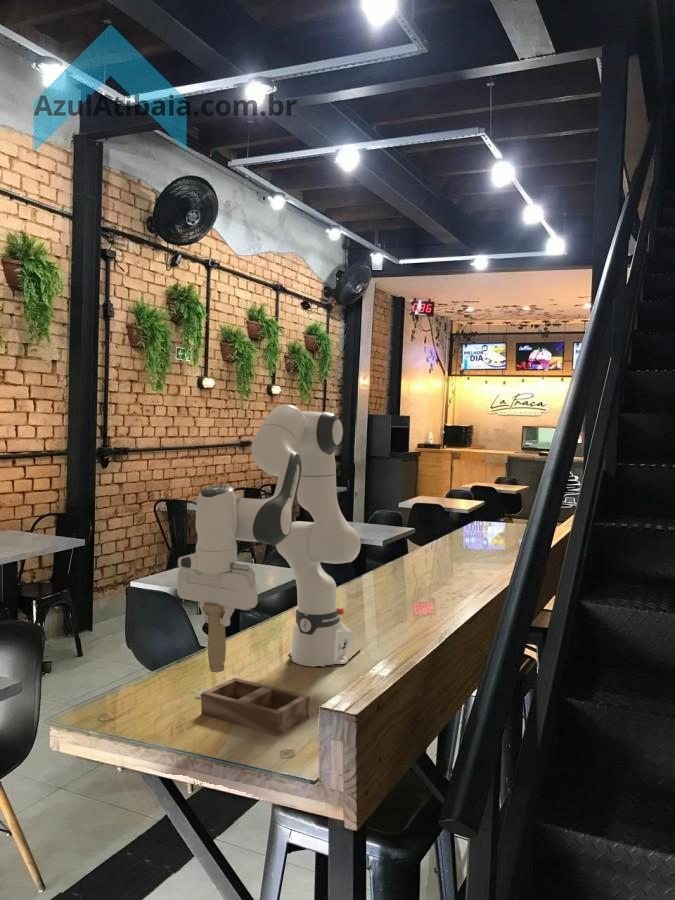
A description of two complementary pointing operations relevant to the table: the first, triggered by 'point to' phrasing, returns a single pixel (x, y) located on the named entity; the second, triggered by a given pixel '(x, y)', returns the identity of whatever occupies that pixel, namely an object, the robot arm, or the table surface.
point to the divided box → (255, 706)
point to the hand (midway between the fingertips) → (216, 623)
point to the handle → (216, 638)
